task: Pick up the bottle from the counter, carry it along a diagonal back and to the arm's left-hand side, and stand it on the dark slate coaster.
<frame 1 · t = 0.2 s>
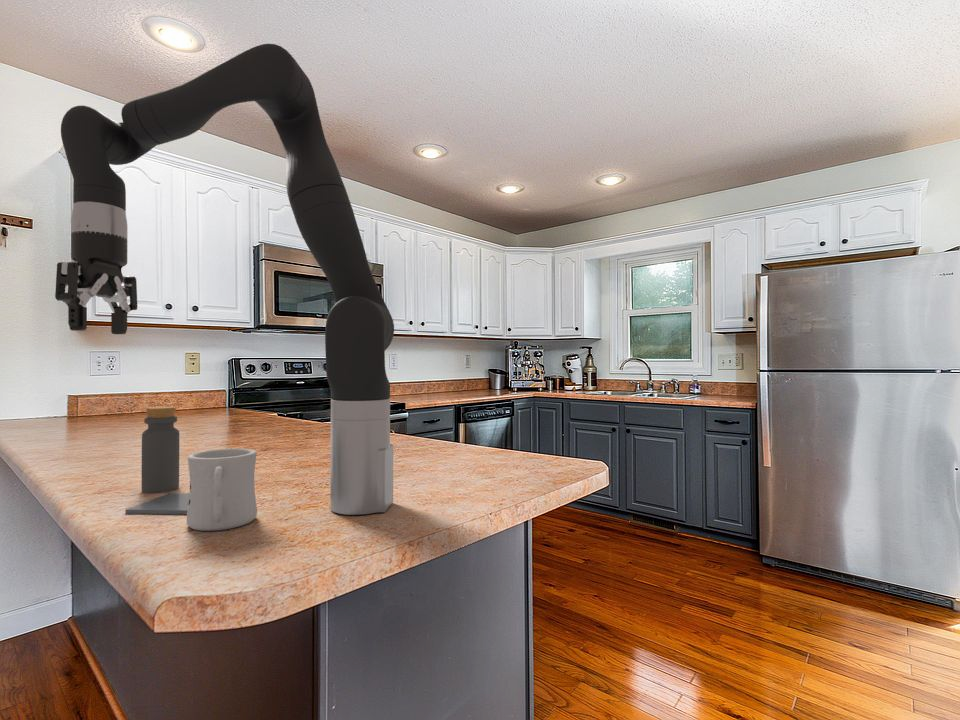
hand: (99, 332, 84), 28 cm above the countertop, fingers open, 8 cm apart
bottle: (160, 490, 93), on the countertop
mug: (221, 527, 72), on the countertop
coaster: (178, 504, 82), on the countertop
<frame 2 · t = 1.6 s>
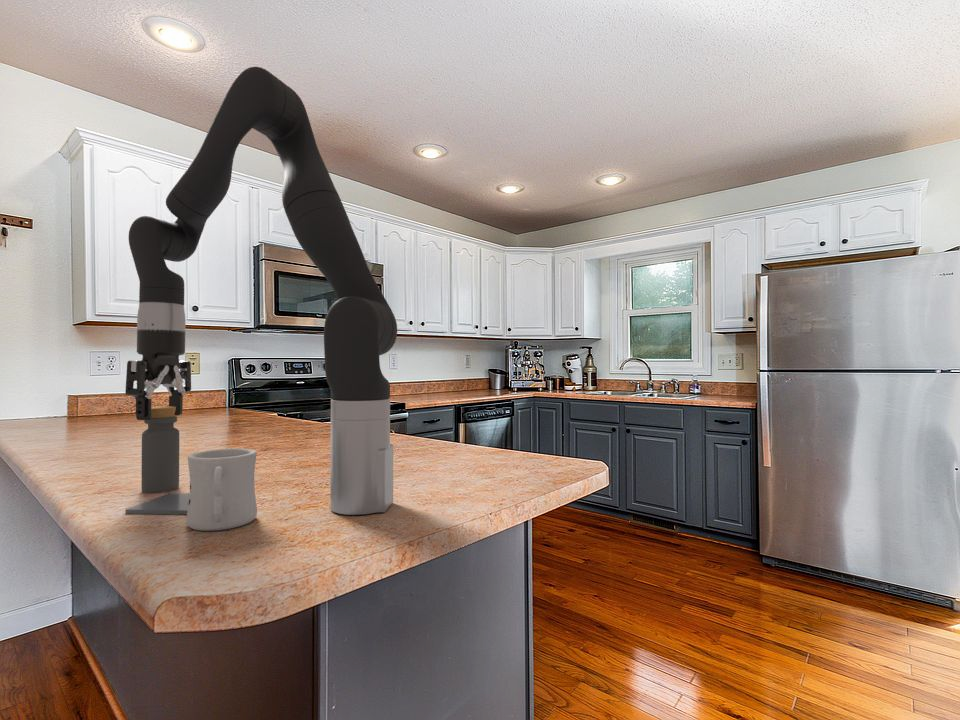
hand: (160, 417, 93), 13 cm above the countertop, fingers open, 8 cm apart
nothing on the countertop moved.
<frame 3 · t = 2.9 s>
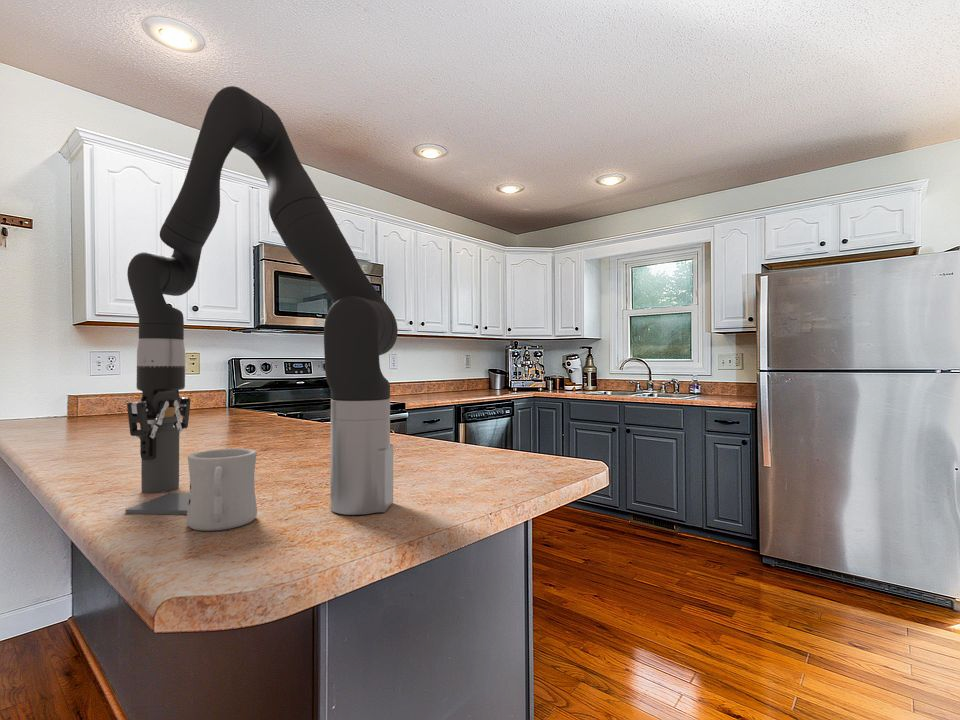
hand: (160, 455, 93), 6 cm above the countertop, fingers closed on bottle, 5 cm apart
bottle: (160, 490, 93), on the countertop, touching gripper
everything else where it was.
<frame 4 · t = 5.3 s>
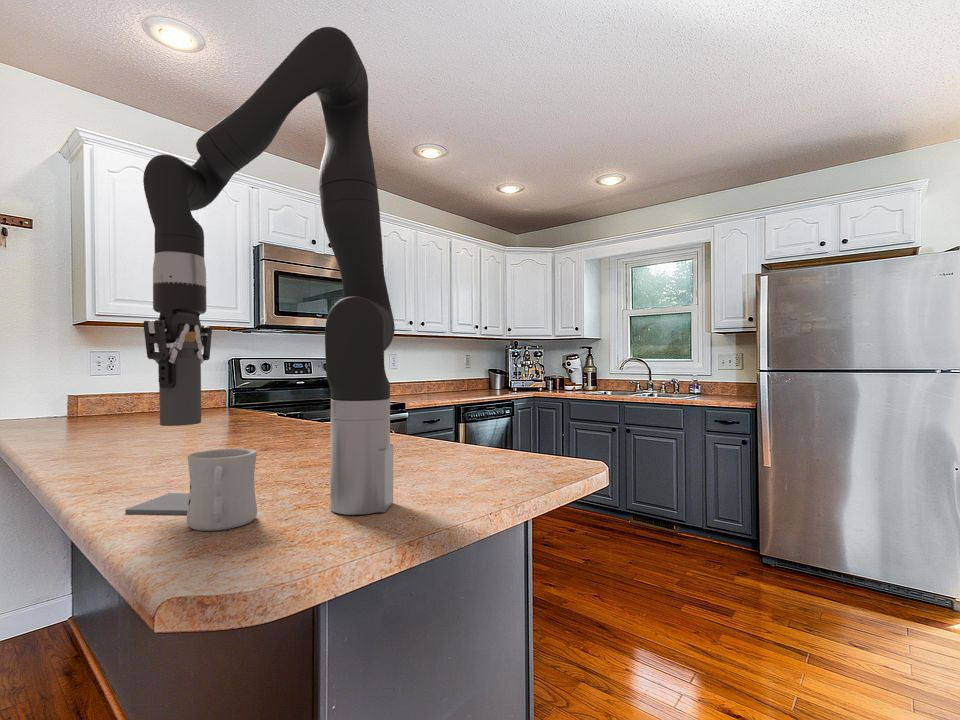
hand: (180, 386, 83), 19 cm above the countertop, fingers closed on bottle, 5 cm apart
bottle: (180, 425, 83), point 13 cm above the countertop, touching gripper
everything else where it was.
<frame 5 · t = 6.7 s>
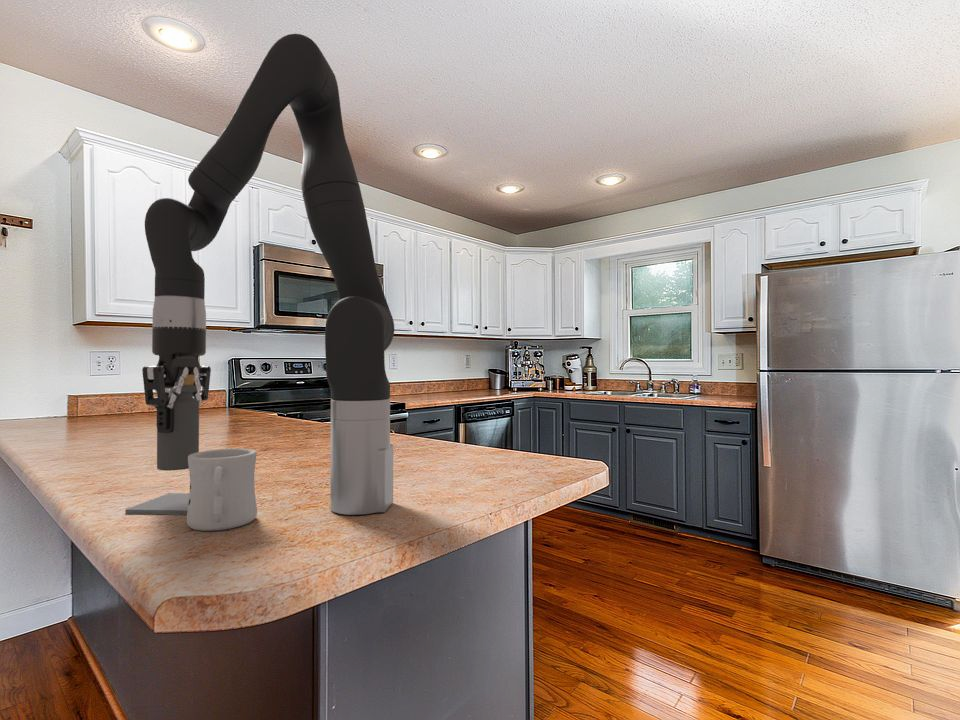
hand: (178, 429, 83), 12 cm above the countertop, fingers closed on bottle, 5 cm apart
bottle: (178, 468, 82), point 6 cm above the countertop, touching gripper
everything else where it was.
when the fingers open (8 cm above the countertop, at t = 8.0 s): bottle drops 1 cm, resting on coaster.
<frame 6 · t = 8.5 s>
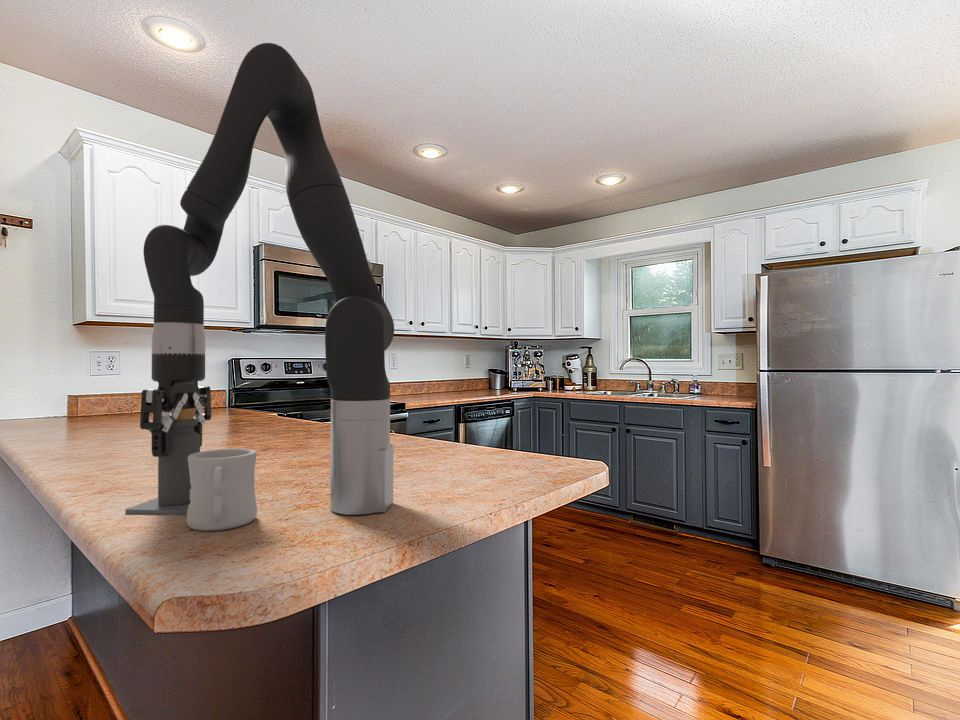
hand: (178, 451, 83), 9 cm above the countertop, fingers open, 8 cm apart
bottle: (179, 502, 83), resting on coaster
everything else where it was.
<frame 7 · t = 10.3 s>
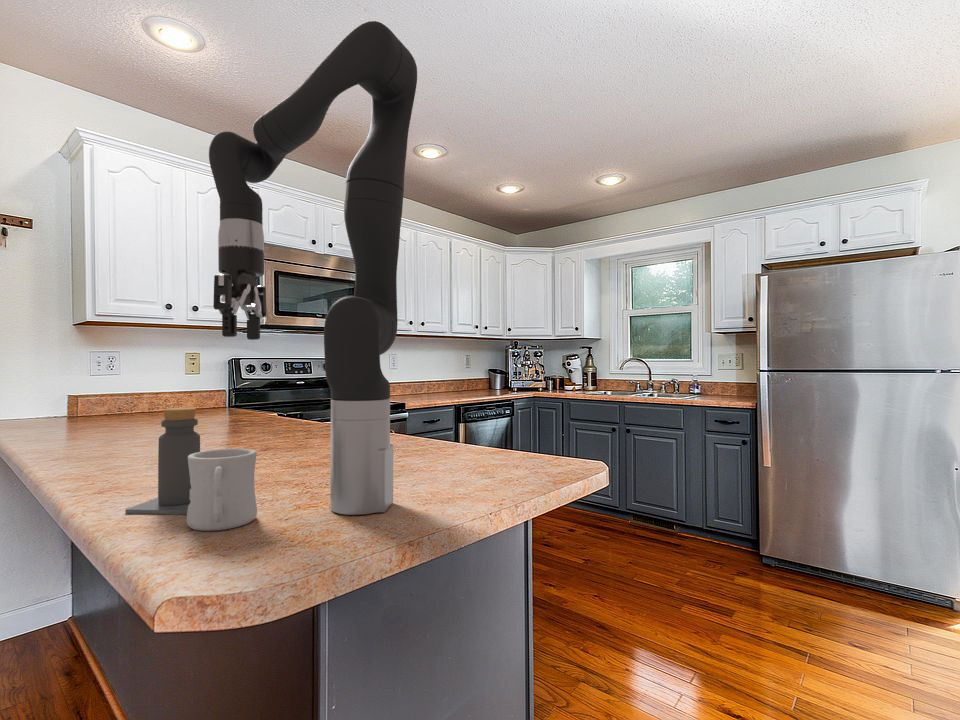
hand: (242, 338, 92), 28 cm above the countertop, fingers open, 8 cm apart
nothing on the countertop moved.
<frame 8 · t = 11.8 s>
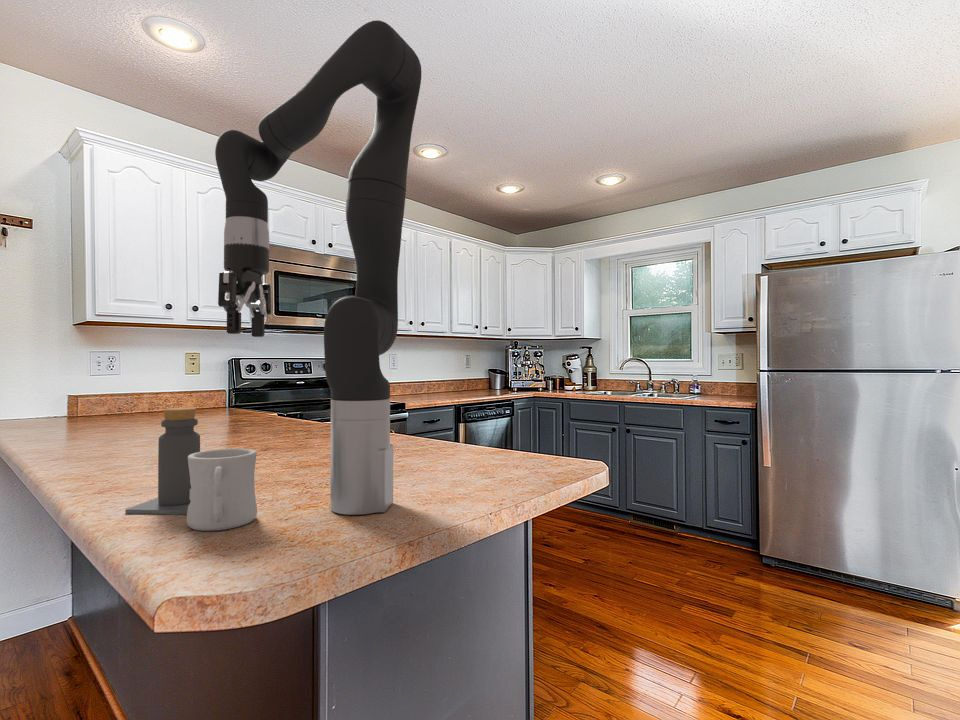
hand: (246, 335, 92), 28 cm above the countertop, fingers open, 8 cm apart
nothing on the countertop moved.
at the end: bottle inside the target area on the coaster (0.2 cm from its centre), point 0.4 cm above the coaster's base; bottle tilted 0°; the gripper is holding nothing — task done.
